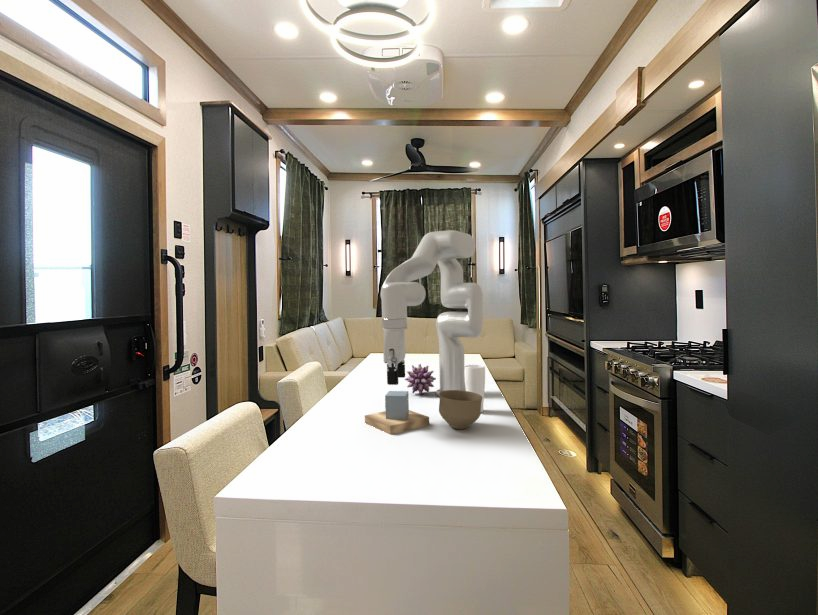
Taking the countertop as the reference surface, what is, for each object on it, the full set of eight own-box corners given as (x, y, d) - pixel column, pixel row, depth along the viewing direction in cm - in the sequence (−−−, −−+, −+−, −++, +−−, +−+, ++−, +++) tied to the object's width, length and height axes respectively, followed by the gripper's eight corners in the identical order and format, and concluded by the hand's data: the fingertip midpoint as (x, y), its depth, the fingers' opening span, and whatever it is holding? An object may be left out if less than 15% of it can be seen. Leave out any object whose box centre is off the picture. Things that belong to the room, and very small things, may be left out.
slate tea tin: (389, 413, 142) (389, 391, 142) (408, 413, 141) (408, 391, 141) (385, 419, 136) (385, 395, 136) (405, 419, 135) (405, 395, 135)
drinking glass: (484, 408, 154) (484, 364, 154) (486, 414, 148) (485, 368, 147) (464, 408, 155) (464, 364, 154) (465, 414, 148) (464, 368, 148)
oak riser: (402, 416, 149) (402, 407, 149) (429, 426, 138) (429, 416, 137) (365, 425, 141) (364, 415, 141) (390, 436, 129) (390, 426, 129)
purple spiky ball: (405, 391, 183) (404, 361, 182) (435, 390, 182) (434, 360, 182) (404, 398, 171) (404, 366, 171) (437, 397, 171) (436, 365, 170)
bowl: (481, 435, 127) (481, 399, 127) (436, 433, 130) (435, 398, 129) (483, 421, 140) (483, 389, 139) (442, 420, 142) (441, 388, 142)
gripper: (389, 321, 147) (391, 374, 148) (375, 327, 130) (377, 387, 131) (412, 321, 146) (414, 374, 147) (400, 327, 129) (402, 387, 130)
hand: (396, 380), depth 139 cm, fingers open, 9 cm apart
